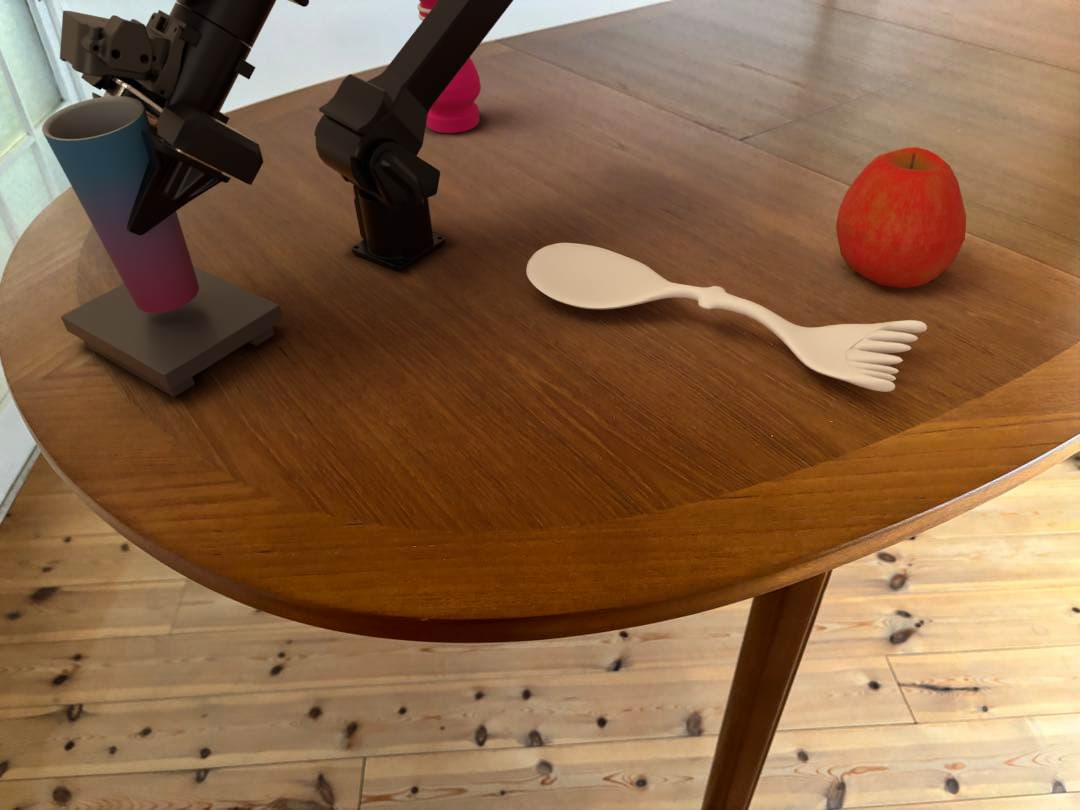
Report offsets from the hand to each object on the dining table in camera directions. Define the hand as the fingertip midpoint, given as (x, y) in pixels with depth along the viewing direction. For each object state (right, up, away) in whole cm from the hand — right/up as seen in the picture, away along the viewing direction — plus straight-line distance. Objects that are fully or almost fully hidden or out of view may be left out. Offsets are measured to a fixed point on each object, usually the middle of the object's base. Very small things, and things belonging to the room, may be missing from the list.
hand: (117, 217), depth 68 cm
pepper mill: (+21, +19, +41) cm, 50 cm away
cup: (+1, -5, +6) cm, 8 cm away
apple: (+62, -2, +12) cm, 63 cm away
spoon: (+44, -8, +6) cm, 46 cm away
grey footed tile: (+2, -8, +8) cm, 12 cm away
